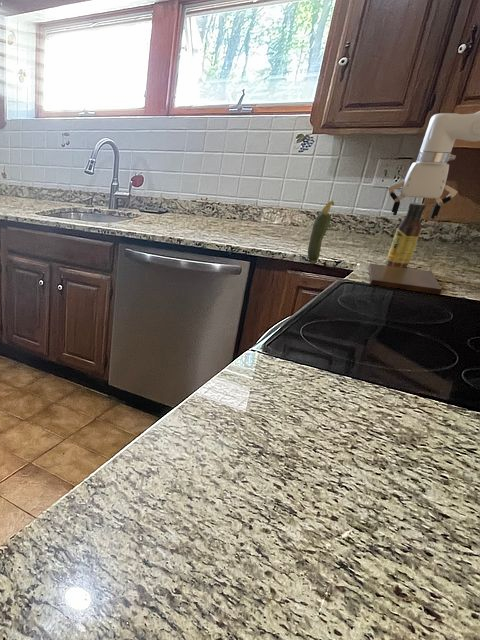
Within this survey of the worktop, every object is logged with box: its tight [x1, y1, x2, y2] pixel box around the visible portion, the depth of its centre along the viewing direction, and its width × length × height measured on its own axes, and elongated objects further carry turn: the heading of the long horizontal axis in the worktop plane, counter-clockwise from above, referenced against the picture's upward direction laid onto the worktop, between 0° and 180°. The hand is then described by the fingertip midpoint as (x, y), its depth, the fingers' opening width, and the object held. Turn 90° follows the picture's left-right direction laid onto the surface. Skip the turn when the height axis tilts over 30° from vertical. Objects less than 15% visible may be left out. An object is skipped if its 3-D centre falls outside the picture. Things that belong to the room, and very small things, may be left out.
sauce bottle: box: [385, 202, 427, 268], centre depth 167 cm, size 6×6×20 cm
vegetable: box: [307, 200, 335, 265], centre depth 168 cm, size 4×4×20 cm
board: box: [367, 263, 443, 295], centre depth 155 cm, size 16×24×2 cm, turn 148°
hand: (412, 216), depth 165 cm, fingers open, 9 cm apart
